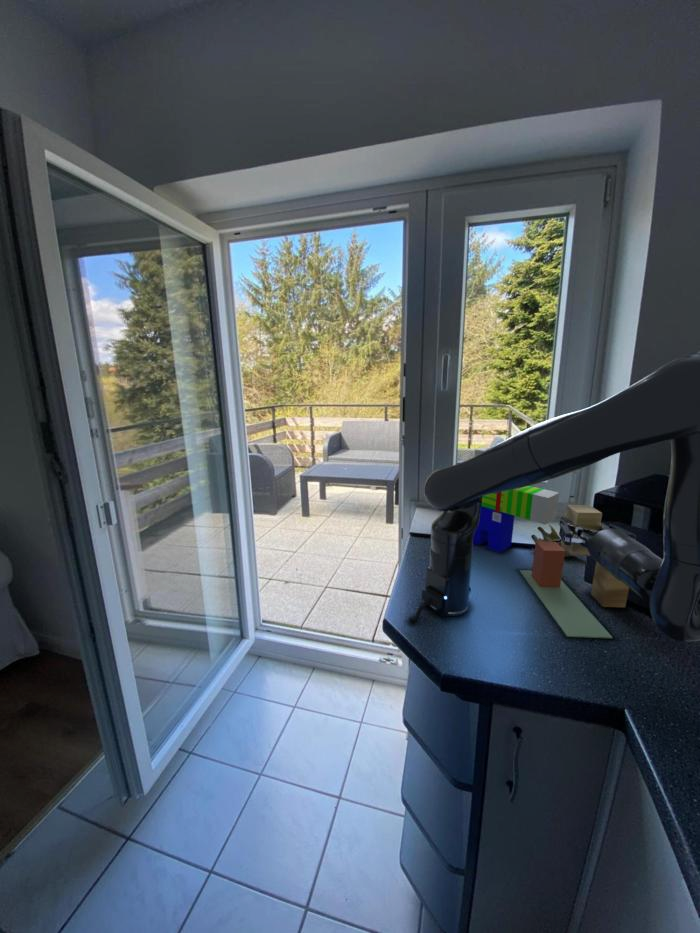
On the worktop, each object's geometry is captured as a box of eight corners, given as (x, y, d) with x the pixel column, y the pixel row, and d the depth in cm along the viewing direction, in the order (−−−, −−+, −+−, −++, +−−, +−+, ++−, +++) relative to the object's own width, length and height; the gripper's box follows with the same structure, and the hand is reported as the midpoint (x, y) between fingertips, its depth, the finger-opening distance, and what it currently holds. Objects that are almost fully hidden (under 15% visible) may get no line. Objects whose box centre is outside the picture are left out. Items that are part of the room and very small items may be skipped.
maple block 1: (595, 556, 81) (602, 513, 79) (571, 555, 82) (578, 512, 79) (583, 545, 86) (589, 505, 84) (560, 545, 87) (566, 504, 84)
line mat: (612, 638, 76) (612, 637, 76) (566, 636, 76) (566, 635, 76) (553, 572, 101) (553, 571, 101) (519, 571, 101) (519, 570, 101)
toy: (438, 529, 128) (443, 444, 121) (450, 524, 132) (455, 441, 125) (539, 568, 103) (553, 462, 95) (550, 560, 107) (564, 458, 100)
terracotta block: (560, 587, 93) (565, 550, 91) (539, 586, 93) (544, 550, 91) (550, 576, 98) (555, 541, 96) (531, 576, 98) (535, 541, 96)
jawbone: (596, 553, 100) (576, 519, 102) (541, 568, 110) (524, 537, 111) (600, 543, 107) (581, 511, 109) (548, 557, 117) (532, 528, 118)
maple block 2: (625, 608, 85) (633, 569, 83) (602, 607, 86) (609, 568, 83) (611, 595, 90) (618, 558, 88) (590, 595, 90) (596, 557, 88)
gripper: (667, 538, 67) (610, 506, 84) (585, 537, 68) (544, 505, 85) (659, 576, 69) (604, 536, 86) (579, 573, 70) (540, 535, 86)
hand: (575, 521), depth 85 cm, fingers closed on maple block 1, 5 cm apart
